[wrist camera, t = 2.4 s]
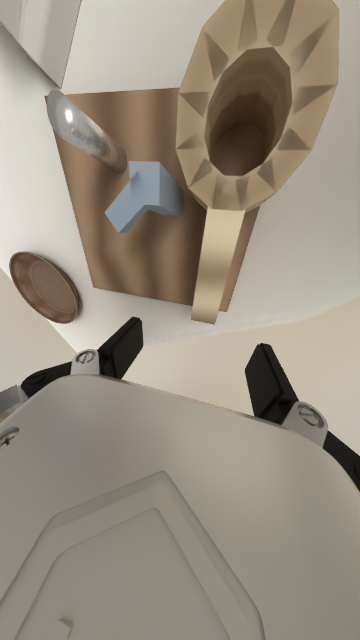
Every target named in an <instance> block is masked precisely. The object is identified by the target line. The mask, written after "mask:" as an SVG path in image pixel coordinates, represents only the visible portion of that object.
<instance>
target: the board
mask: <svg viewBox="0 0 360 640" xmlns="http://www.w3.org/2000/svg"><path fill="white" fill-rule="evenodd" d="M179 90H180V88H168V89H152V90H135V91H118V92H102V93H85V94H69V95H65V96H66V97H67V98H68V99H69V100H70V101H71V102H73V103H74V104H75V105H76V106H77V107H78V108H79V109H80V110H81V111H83V112H84V113H85V114H86V115H87V116H88V117H89V118H90V119H91V120H93V121H94V122H95V123H96V124H97V125H98V126H99V127H100V128H101V129H102V130H104V131H105V132H106V133H107V134H108V135H109V136H110V137H111V138H112V139H114V140H115V141H116V142H117V143H118V144H119V145H120V146H121V147H122V148H123V149H124V150H125V152H126V155H127V168H126V170H125V171H124V172H123V173H118V172H116V171H114V170H113V169H111V168H110V167H108V166H106V165H105V164H103V163H101V162H100V161H98V160H97V159H95V158H93V157H92V156H90V155H88V154H87V153H85V152H84V151H82V150H80V149H79V148H77V147H75V146H74V145H72V144H71V143H69V142H67V141H66V140H64V139H62V138H61V137H60V136H58V135H57V133H56V132H55V131H54V129H53V131H54V135H55V139H56V143H57V147H58V151H59V155H60V159H61V163H62V167H63V171H64V174H65V178H66V182H67V186H68V190H69V194H70V198H71V202H72V206H73V210H74V213H75V217H76V221H77V225H78V229H79V233H80V237H81V241H82V245H83V249H84V252H85V256H86V260H87V264H88V268H89V272H90V276H91V280H92V284H93V287H95V288H100V289H105V290H111V291H116V292H121V293H127V294H132V295H137V296H143V297H148V298H153V299H159V300H164V301H169V302H175V303H180V304H186V305H191V306H193V301H194V294H195V288H196V281H197V275H198V268H199V262H200V255H201V249H202V242H203V236H204V229H205V222H206V216H207V210H206V209H204V208H203V207H202V206H201V205H200V204H199V203H198V202H197V200H196V199H195V197H194V196H193V194H192V193H191V191H190V190H189V188H188V186H187V183H186V179H185V176H184V173H183V170H182V167H181V164H180V161H179V158H178V155H177V152H176V132H177V111H178V93H179ZM47 98H48V96H45V100H46V104H47ZM52 128H53V127H52ZM264 154H265V150H264V142H263V135H262V133H261V132H260V131H259V129H258V128H257V127H256V126H255V125H254V124H253V123H252V122H236V123H235V124H234V125H232V126H231V127H230V128H228V129H227V130H226V131H225V132H223V133H222V134H221V136H220V138H219V140H218V141H217V143H216V145H215V147H214V149H213V151H212V155H211V162H210V163H212V164H213V165H214V166H215V167H216V168H217V169H218V170H219V171H220V172H221V173H222V174H223V175H224V176H244V175H245V174H247V173H249V172H250V171H252V170H253V169H255V168H257V167H258V166H260V165H261V164H262V161H263V158H264ZM128 161H147V162H160V163H161V164H162V165H163V167H164V168H165V169H166V170H167V171H168V173H169V174H170V175H171V176H172V178H173V179H174V180H175V181H176V182H177V184H178V185H179V186H180V187H181V189H182V190H183V197H182V211H181V216H171V215H162V214H159V213H156V212H154V211H151V210H147V212H146V213H145V214H144V215H143V216H142V217H141V218H140V219H139V220H138V221H137V222H136V223H135V224H134V225H133V226H132V227H131V228H130V229H129V230H128V231H127V232H126V233H118V232H117V230H116V229H115V227H114V226H113V224H112V223H111V221H110V220H109V219H108V217H107V216H106V214H105V211H106V210H107V209H108V208H109V206H110V205H111V204H112V202H113V201H114V200H115V199H116V197H117V196H118V195H119V194H120V192H121V191H122V190H123V188H124V187H125V186H126V185H127V183H128V182H129V181H130V175H129V162H128ZM259 207H260V205H259V206H258V207H256V208H254V209H252V210H250V211H248V212H246V213H245V214H244V217H243V221H242V225H241V228H240V232H239V236H238V240H237V243H236V247H235V251H234V254H233V258H232V262H231V266H230V269H229V273H228V277H227V280H226V284H225V288H224V292H223V295H222V299H221V303H220V307H219V310H218V311H223V312H227V310H228V307H229V304H230V301H231V297H232V294H233V291H234V288H235V285H236V281H237V278H238V275H239V272H240V268H241V265H242V262H243V259H244V255H245V252H246V249H247V246H248V242H249V239H250V236H251V233H252V230H253V226H254V223H255V220H256V217H257V213H258V210H259Z"/></svg>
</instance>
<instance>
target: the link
mask: <svg viewBox="0 0 360 640" xmlns="http://www.w3.org/2000/svg"><path fill="white" fill-rule="evenodd" d="M338 40H339V9H338V7H337V6H336V5H335V3H334V2H333V0H225V2H224V3H223V4H222V5H221V6H220V7H219V8H218V10H217V11H216V12H215V13H214V14H213V15H212V17H211V18H210V19H209V20H208V21H207V22H206V23H205V25H204V26H203V27H202V30H201V32H200V35H199V38H198V41H197V43H196V46H195V49H194V52H193V54H192V57H191V60H190V63H189V65H188V68H187V71H186V73H185V76H184V79H183V82H182V84H181V87H180V90H179V93H178V111H177V132H176V152H177V155H178V158H179V161H180V164H181V167H182V170H183V173H184V176H185V179H186V183H187V186H188V188H189V190H190V191H191V193H192V194H193V196H194V197H195V199H196V200H197V202H198V203H199V204H200V205H201V206H202V207H203V208H204V209H206V210H207V216H206V222H205V229H204V236H203V242H202V249H201V255H200V262H199V268H198V275H197V281H196V288H195V294H194V301H193V308H192V314H191V320H195V321H200V322H205V323H210V324H214V325H215V321H216V318H217V314H218V310H219V307H220V303H221V299H222V295H223V292H224V288H225V284H226V280H227V277H228V273H229V269H230V266H231V262H232V258H233V254H234V251H235V247H236V243H237V240H238V236H239V232H240V228H241V225H242V221H243V217H244V214H245V213H246V212H248V211H250V210H252V209H254V208H256V207H258V206H259V205H260V204H262V203H263V202H264V201H266V200H267V199H268V198H270V197H271V196H272V195H274V194H275V193H276V192H277V191H278V190H279V189H280V187H281V186H282V185H283V184H284V183H285V181H286V180H287V179H288V178H289V177H290V175H291V174H292V173H293V172H294V171H295V169H296V168H297V167H298V166H299V165H300V163H301V162H302V161H303V160H304V159H305V157H306V156H307V155H308V154H309V153H310V151H311V150H312V147H313V145H314V142H315V140H316V137H317V135H318V132H319V130H320V127H321V125H322V122H323V120H324V117H325V115H326V112H327V110H328V107H329V105H330V102H331V100H332V97H333V95H334V92H335V90H336V87H337V84H338ZM236 122H252V123H253V124H254V125H255V126H256V127H257V128H258V129H259V131H260V132H261V133H262V135H263V142H264V150H265V154H264V158H263V161H262V164H261V165H260V166H258V167H257V168H255V169H253V170H252V171H250V172H249V173H247V174H245V175H244V176H224V175H223V174H222V173H221V172H220V171H219V170H218V169H217V168H216V167H215V166H214V165H213V164H212V163H210V162H211V155H212V151H213V149H214V147H215V145H216V143H217V141H218V140H219V138H220V136H221V134H222V133H223V132H225V131H226V130H227V129H228V128H230V127H231V126H232V125H234V124H235V123H236Z"/></svg>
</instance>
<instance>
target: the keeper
mask: <svg viewBox="0 0 360 640" xmlns="http://www.w3.org/2000/svg"><path fill="white" fill-rule="evenodd" d="M128 162H129V175H130V181H129V182H128V183H127V185H126V186H125V187H124V188H123V190H122V191H121V192H120V194H119V195H118V196H117V197H116V199H115V200H114V201H113V202H112V204H111V205H110V206H109V208H108V209H107V210H106V211H105V214H106V216H107V217H108V219H109V220H110V221H111V223H112V224H113V226H114V227H115V229H116V230H117V232H118V233H126V232H127V231H128V230H129V229H130V228H131V227H132V226H133V225H134V224H135V223H136V222H137V221H138V220H139V219H140V218H141V217H142V216H143V215H144V214H145V213H146V212H147V210H151V211H154V212H156V213H159V214H162V215H171V216H181V211H182V197H183V190H182V189H181V187H180V186H179V185H178V184H177V182H176V181H175V180H174V179H173V178H172V176H171V175H170V174H169V173H168V171H167V170H166V169H165V168H164V167H163V165H162V164H161V163H160V162H147V161H128Z"/></svg>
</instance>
